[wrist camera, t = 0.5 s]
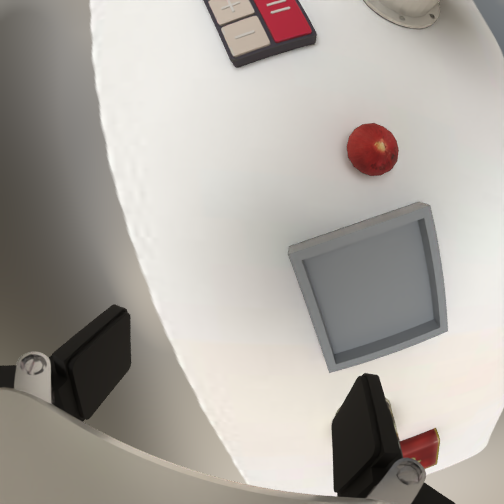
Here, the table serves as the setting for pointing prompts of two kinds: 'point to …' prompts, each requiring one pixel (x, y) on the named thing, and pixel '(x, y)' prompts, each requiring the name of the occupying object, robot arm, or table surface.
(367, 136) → the onion
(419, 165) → the table surface
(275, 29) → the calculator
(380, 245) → the tray
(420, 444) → the hardcover book
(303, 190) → the table surface
